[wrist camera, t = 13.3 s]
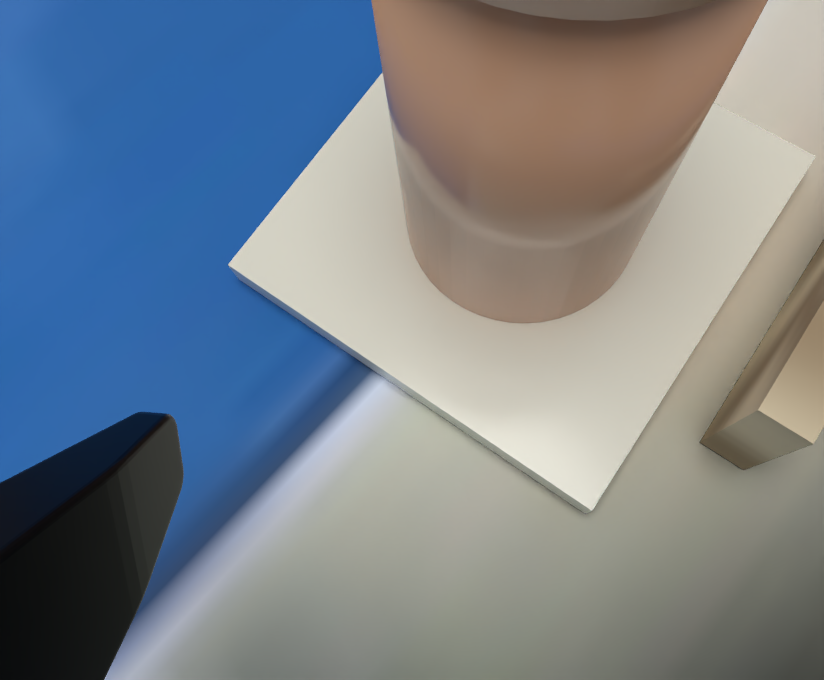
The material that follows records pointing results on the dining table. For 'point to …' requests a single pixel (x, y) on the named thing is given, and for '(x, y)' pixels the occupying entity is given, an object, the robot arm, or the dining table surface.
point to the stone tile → (521, 342)
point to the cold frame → (779, 383)
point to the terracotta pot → (545, 135)
